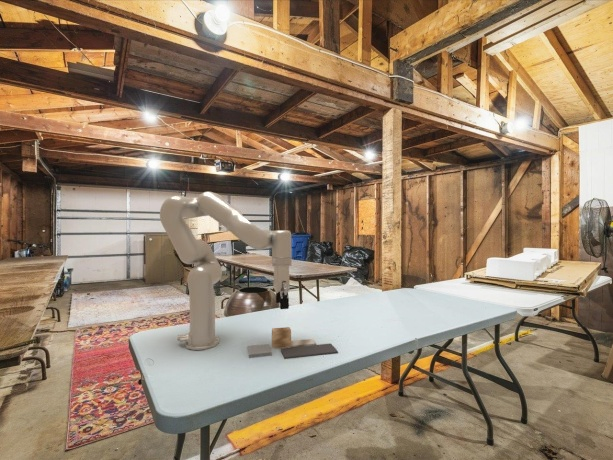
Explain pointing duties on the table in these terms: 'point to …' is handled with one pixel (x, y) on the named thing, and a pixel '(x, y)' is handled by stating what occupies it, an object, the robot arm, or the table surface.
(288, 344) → the tan stepped block piece
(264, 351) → the tile
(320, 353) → the mat
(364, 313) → the table surface
